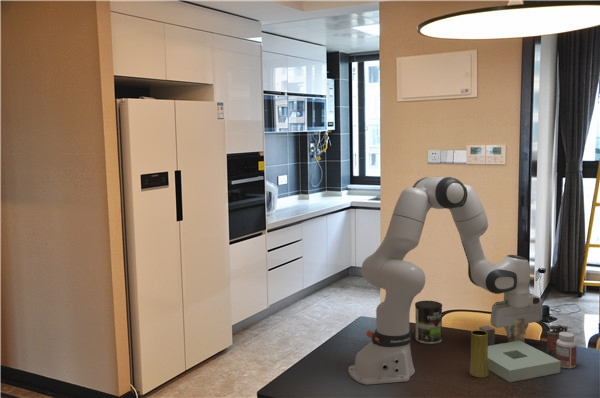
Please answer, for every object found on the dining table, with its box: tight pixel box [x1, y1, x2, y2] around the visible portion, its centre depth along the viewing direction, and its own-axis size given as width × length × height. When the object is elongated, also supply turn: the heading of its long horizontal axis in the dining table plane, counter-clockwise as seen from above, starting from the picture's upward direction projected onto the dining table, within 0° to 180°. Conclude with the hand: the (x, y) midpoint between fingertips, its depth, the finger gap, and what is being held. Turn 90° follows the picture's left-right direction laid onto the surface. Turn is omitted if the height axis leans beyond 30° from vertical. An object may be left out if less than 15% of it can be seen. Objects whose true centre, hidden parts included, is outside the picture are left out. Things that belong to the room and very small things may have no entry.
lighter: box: [546, 324, 572, 355], centre depth 203 cm, size 8×3×10 cm, turn 84°
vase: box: [469, 329, 490, 379], centre depth 187 cm, size 6×6×14 cm
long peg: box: [507, 319, 525, 343], centre depth 206 cm, size 4×4×12 cm
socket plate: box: [488, 341, 561, 383], centre depth 193 cm, size 20×20×4 cm
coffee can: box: [414, 300, 443, 345], centre depth 219 cm, size 10×10×14 cm
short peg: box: [478, 325, 496, 346], centre depth 214 cm, size 4×4×6 cm
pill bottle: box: [555, 331, 577, 369], centre depth 191 cm, size 6×6×11 cm
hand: (516, 335), depth 207 cm, fingers closed on long peg, 4 cm apart
